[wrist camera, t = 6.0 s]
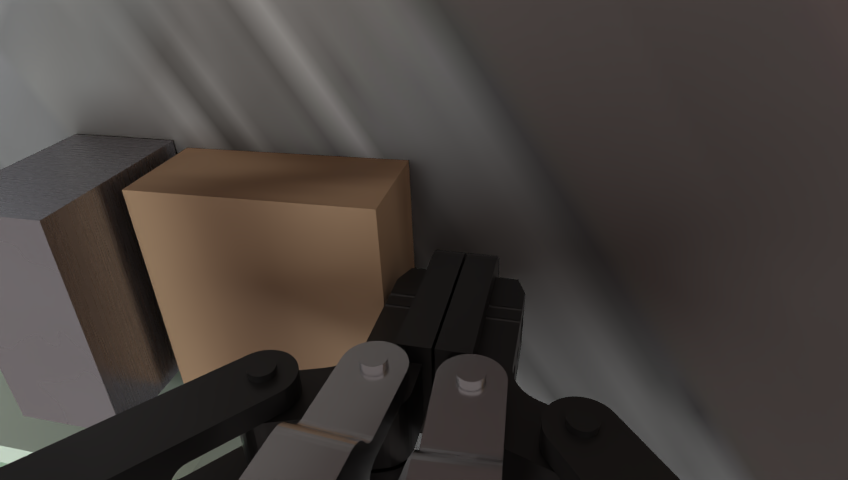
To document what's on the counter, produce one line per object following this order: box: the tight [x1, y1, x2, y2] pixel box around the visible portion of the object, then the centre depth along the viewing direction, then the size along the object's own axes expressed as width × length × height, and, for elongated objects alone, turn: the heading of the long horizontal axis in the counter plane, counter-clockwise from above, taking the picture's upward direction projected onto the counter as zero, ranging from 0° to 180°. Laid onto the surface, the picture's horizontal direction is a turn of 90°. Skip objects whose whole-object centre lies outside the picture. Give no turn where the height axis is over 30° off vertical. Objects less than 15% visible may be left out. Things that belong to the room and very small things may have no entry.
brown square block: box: [122, 148, 415, 384], centre depth 16 cm, size 6×6×3 cm
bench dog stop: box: [0, 134, 179, 428], centre depth 16 cm, size 3×6×4 cm, turn 2°
